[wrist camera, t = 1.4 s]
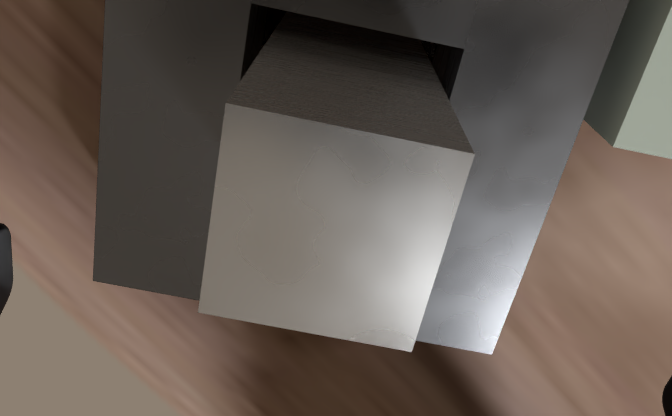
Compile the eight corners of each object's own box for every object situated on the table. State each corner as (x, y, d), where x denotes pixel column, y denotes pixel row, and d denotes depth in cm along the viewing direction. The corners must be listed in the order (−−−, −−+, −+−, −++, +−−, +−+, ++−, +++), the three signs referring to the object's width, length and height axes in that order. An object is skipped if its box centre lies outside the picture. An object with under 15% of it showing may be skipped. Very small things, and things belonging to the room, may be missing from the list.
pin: (387, 158, 21) (411, 352, 12) (267, 135, 21) (198, 312, 12) (418, 37, 19) (475, 153, 10) (288, 9, 19) (225, 102, 10)
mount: (470, 283, 23) (491, 354, 19) (136, 219, 22) (92, 280, 18) (595, -76, 18) (657, -72, 14) (165, -175, 17) (114, -197, 13)
